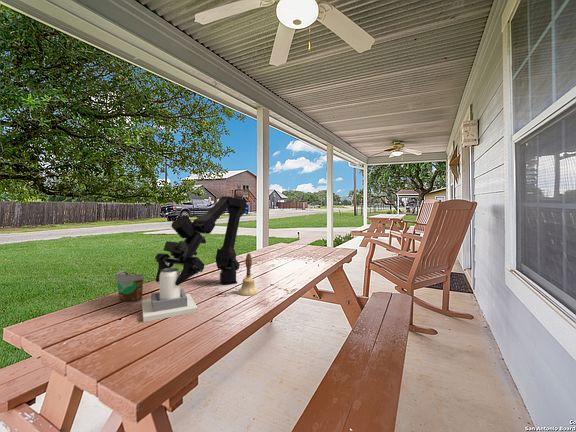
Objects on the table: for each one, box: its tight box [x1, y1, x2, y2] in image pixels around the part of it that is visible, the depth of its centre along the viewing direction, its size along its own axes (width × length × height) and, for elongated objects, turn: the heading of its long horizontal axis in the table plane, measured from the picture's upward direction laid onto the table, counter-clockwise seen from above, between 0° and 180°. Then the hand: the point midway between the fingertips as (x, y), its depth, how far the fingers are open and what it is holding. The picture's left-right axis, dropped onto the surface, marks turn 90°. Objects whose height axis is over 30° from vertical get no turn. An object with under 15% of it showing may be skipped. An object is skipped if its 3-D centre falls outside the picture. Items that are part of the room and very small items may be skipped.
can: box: [158, 267, 181, 301], centre depth 94 cm, size 6×6×12 cm
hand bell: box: [237, 252, 259, 297], centre depth 112 cm, size 8×8×16 cm
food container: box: [114, 269, 145, 303], centre depth 102 cm, size 12×6×10 cm, turn 62°
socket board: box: [141, 288, 199, 323], centre depth 95 cm, size 16×16×4 cm
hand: (166, 283), depth 93 cm, fingers open, 9 cm apart
